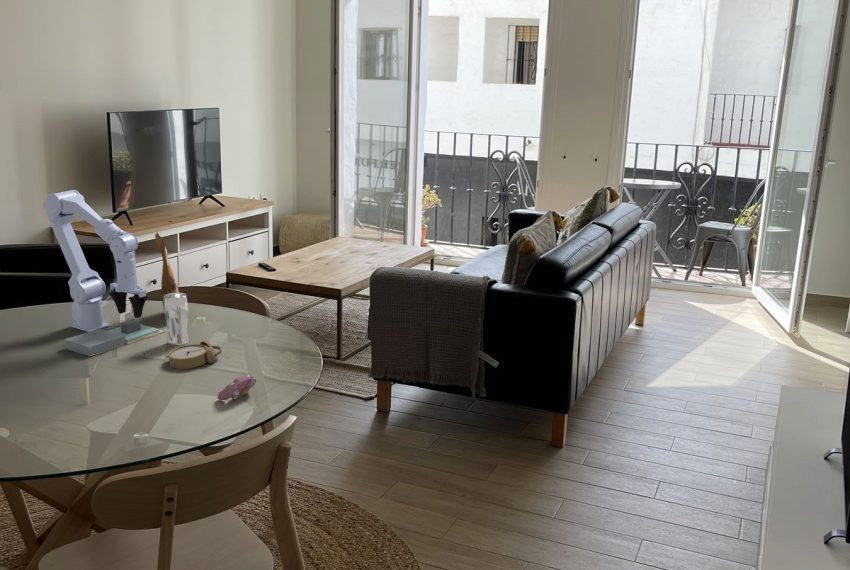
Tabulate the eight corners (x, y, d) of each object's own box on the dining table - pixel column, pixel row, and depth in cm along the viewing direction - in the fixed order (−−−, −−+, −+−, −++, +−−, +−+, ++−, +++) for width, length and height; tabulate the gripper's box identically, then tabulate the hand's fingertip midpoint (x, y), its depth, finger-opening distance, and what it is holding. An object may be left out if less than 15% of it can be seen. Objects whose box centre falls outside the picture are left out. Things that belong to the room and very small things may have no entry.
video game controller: (226, 409, 210) (234, 389, 206) (214, 398, 211) (222, 378, 208) (253, 396, 218) (261, 376, 215) (241, 386, 219) (249, 366, 216)
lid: (102, 334, 258) (101, 323, 257) (134, 324, 267) (133, 313, 266) (127, 342, 251) (126, 330, 250) (159, 331, 261) (158, 320, 260)
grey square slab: (65, 348, 246) (64, 339, 245) (100, 337, 256) (99, 328, 255) (90, 357, 240) (89, 347, 239) (125, 345, 250) (124, 336, 249)
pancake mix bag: (160, 326, 267) (153, 241, 260) (161, 309, 285) (154, 229, 277) (182, 324, 269) (176, 240, 262) (181, 307, 287) (175, 228, 279)
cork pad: (98, 335, 258) (98, 334, 258) (135, 324, 269) (135, 323, 269) (127, 344, 250) (127, 343, 250) (164, 332, 262) (164, 331, 262)
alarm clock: (163, 349, 239) (214, 334, 244) (168, 365, 240) (218, 348, 246) (171, 362, 229) (223, 345, 235) (175, 378, 231) (227, 361, 236)
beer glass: (193, 339, 256) (190, 292, 252) (185, 346, 249) (181, 299, 245) (172, 338, 256) (168, 291, 252) (162, 345, 250) (159, 298, 246)
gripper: (100, 272, 255) (104, 314, 259) (131, 279, 247) (134, 322, 251) (119, 267, 260) (123, 308, 264) (150, 274, 253) (153, 316, 257)
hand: (130, 315), depth 258 cm, fingers open, 7 cm apart
